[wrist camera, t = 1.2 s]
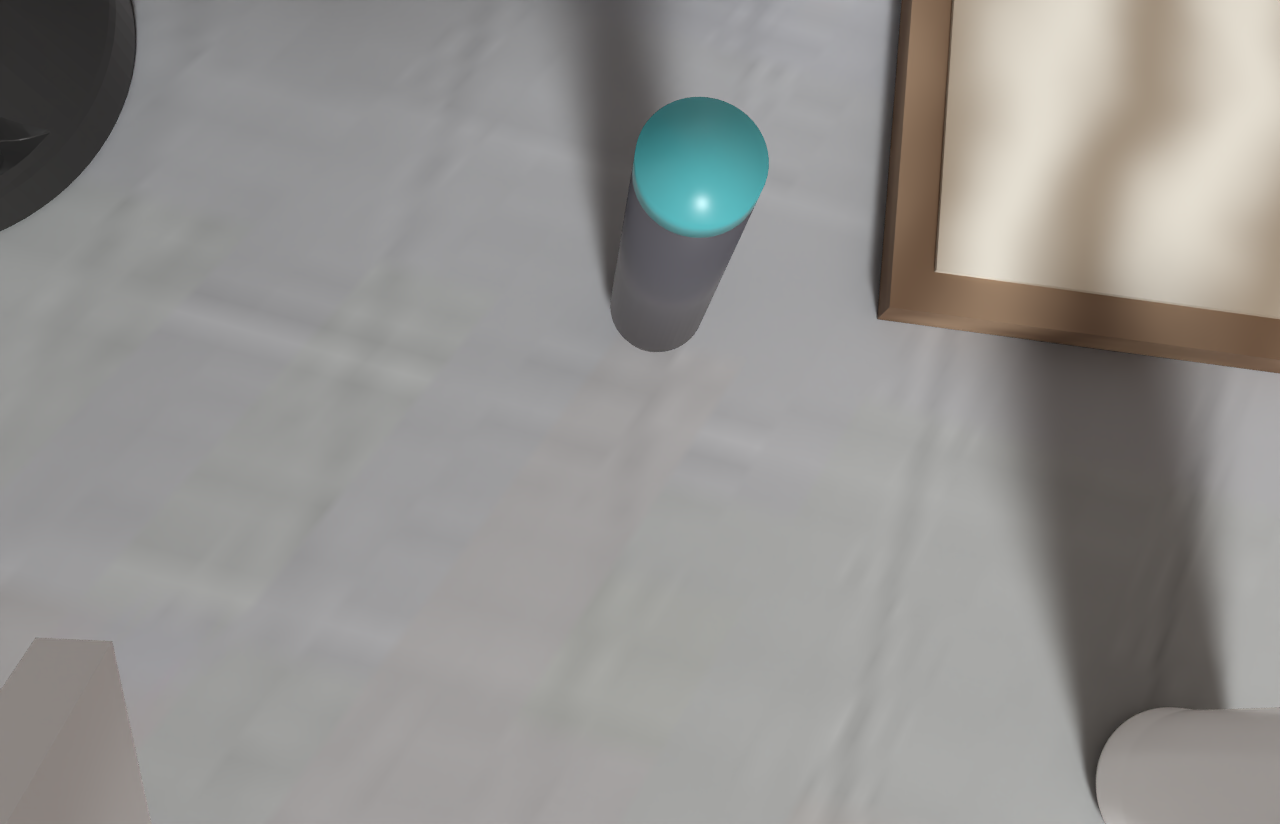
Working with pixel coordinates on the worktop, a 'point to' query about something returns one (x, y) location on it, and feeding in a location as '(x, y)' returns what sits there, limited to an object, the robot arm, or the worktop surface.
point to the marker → (684, 217)
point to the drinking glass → (1192, 768)
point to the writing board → (1089, 175)
